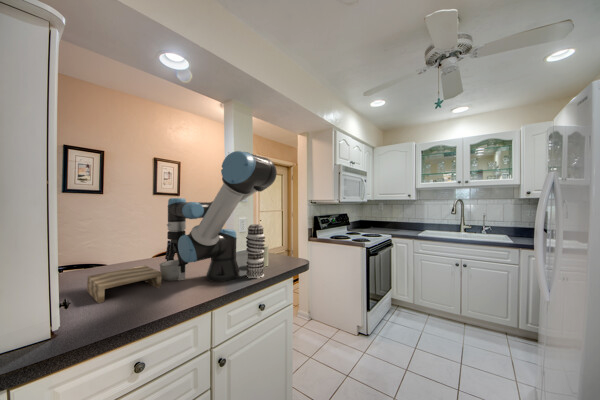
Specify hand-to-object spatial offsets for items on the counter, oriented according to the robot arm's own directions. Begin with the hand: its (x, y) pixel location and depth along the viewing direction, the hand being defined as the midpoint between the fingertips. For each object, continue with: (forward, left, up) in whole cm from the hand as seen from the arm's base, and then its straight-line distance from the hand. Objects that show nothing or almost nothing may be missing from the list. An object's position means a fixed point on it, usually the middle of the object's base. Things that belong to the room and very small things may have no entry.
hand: (175, 277), depth 105 cm
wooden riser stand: (+2, +19, 0) cm, 19 cm away
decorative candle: (-27, -25, -1) cm, 37 cm away
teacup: (+1, 0, -1) cm, 1 cm away
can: (-16, -39, -1) cm, 42 cm away
